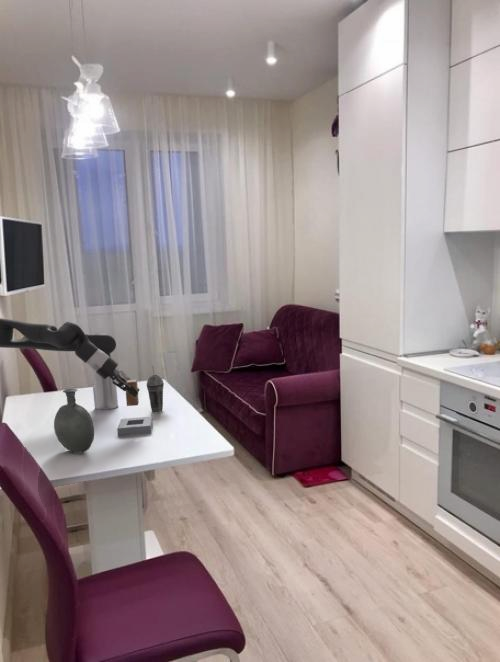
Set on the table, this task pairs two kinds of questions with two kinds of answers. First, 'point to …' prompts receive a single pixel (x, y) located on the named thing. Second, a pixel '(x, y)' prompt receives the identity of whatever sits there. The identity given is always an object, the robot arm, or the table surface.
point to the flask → (74, 425)
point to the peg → (130, 398)
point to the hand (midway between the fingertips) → (137, 393)
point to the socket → (135, 426)
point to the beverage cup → (155, 392)
